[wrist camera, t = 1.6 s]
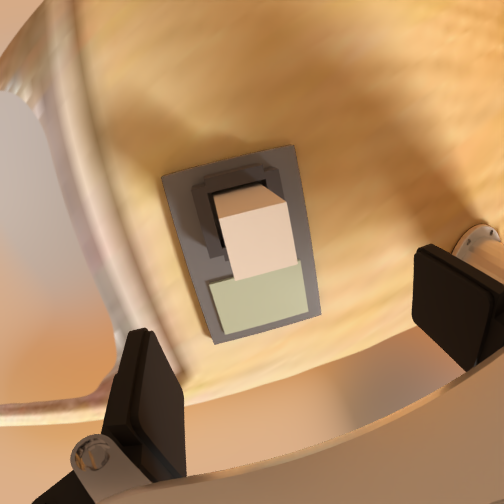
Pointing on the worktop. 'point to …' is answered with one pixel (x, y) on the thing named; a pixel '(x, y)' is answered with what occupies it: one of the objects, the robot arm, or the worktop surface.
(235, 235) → the plug
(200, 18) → the worktop surface
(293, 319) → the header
